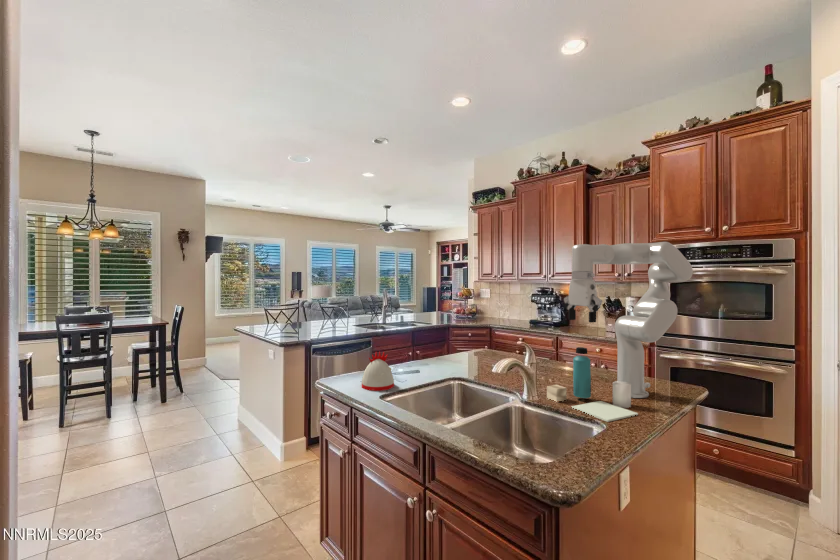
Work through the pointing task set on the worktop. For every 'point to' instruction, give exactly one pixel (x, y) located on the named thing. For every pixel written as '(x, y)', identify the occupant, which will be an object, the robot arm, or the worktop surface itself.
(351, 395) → the worktop surface
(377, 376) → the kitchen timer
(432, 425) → the worktop surface
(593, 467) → the worktop surface
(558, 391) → the birch block
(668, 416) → the worktop surface
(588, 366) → the beverage bottle
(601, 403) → the sage mat
